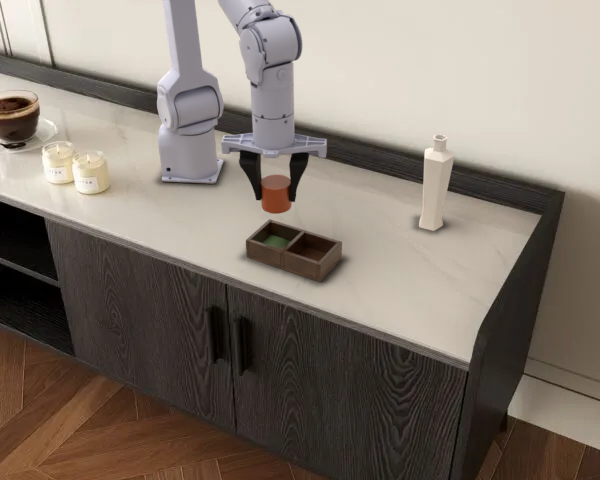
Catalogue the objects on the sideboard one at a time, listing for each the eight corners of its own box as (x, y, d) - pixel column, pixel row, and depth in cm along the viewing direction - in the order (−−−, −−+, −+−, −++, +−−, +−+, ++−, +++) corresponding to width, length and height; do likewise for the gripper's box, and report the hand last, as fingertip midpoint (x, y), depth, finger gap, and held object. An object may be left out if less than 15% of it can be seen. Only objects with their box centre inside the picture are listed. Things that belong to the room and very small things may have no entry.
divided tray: (246, 257, 114) (245, 240, 112) (270, 235, 118) (269, 218, 116) (320, 282, 109) (320, 265, 107) (341, 258, 113) (342, 241, 111)
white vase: (427, 212, 123) (436, 127, 114) (449, 223, 120) (460, 136, 111) (409, 223, 120) (417, 137, 111) (431, 234, 118) (441, 147, 109)
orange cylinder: (259, 213, 110) (258, 189, 108) (263, 197, 114) (262, 173, 111) (289, 214, 110) (289, 190, 107) (293, 198, 113) (292, 174, 111)
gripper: (214, 121, 100) (221, 210, 108) (324, 125, 99) (323, 214, 107) (223, 99, 105) (230, 184, 114) (328, 102, 104) (327, 189, 113)
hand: (276, 197), depth 111 cm, fingers closed on orange cylinder, 4 cm apart
